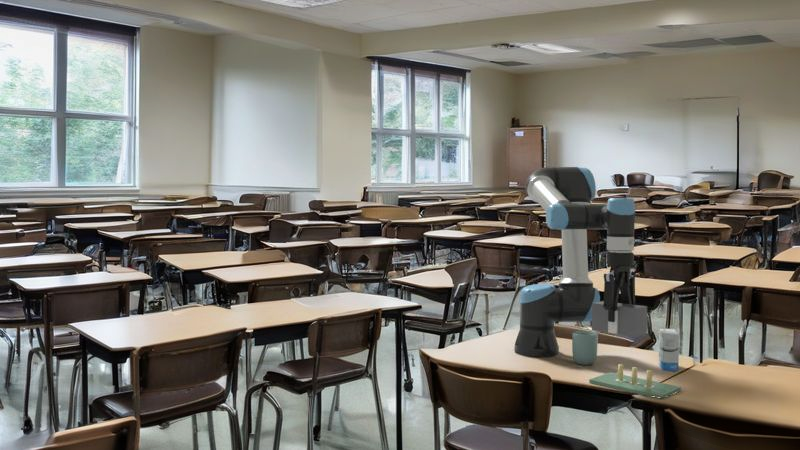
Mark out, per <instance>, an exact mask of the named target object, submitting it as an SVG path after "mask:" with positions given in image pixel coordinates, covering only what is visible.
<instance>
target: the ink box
mask: <svg viewBox="0 0 800 450" xmlns="http://www.w3.org/2000/svg"><path fill="white" fill-rule="evenodd" d="M658 335H659V336H658V362H657V363H658V364H657V365H659V367H660V369H661V370H662V371H665V372H666V371H670V372H671V371H673V372H679V360H680V359H679V355H680V352H679V351H680V334H679V333H678V332H677V331H676V329H674V328H672V329H671V328H659V332H658Z"/></svg>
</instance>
